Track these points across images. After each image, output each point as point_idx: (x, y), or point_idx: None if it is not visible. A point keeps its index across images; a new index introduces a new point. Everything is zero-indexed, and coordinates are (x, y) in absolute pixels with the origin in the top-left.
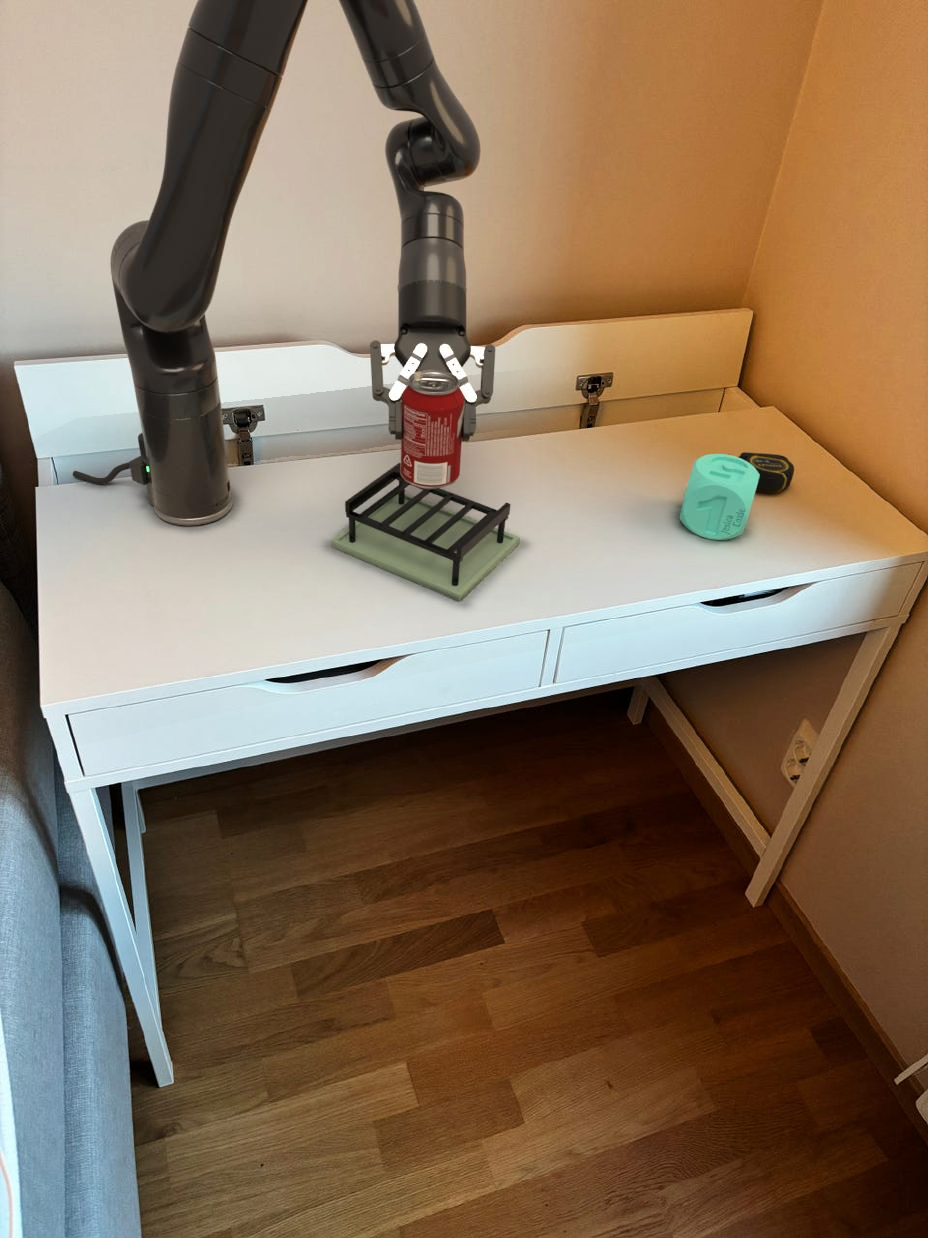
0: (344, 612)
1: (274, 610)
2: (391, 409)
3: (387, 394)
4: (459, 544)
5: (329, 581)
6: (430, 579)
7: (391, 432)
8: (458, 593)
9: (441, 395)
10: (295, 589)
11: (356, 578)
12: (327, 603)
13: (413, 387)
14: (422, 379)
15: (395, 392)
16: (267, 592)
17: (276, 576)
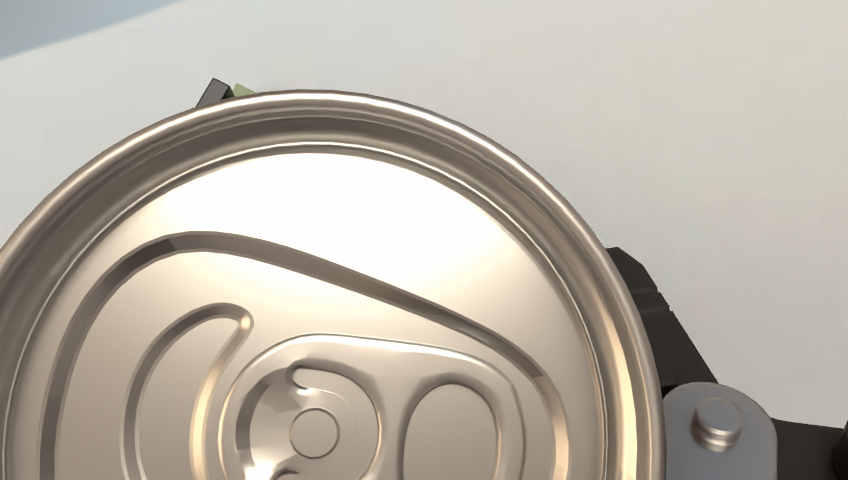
0: (550, 15)
1: (725, 4)
2: (677, 357)
3: (779, 459)
4: (220, 99)
5: (616, 140)
6: None
7: None
8: (242, 88)
9: (195, 141)
10: (696, 94)
11: (545, 163)
12: (601, 46)
13: (559, 197)
14: None
15: (719, 449)
16: (763, 73)
17: (761, 143)
